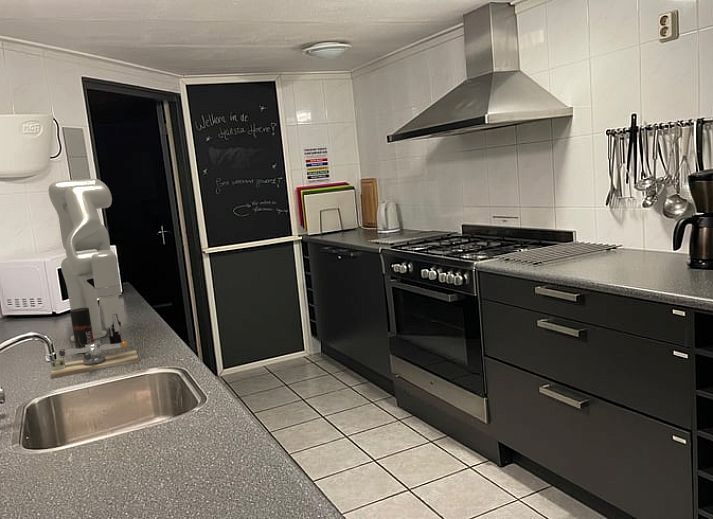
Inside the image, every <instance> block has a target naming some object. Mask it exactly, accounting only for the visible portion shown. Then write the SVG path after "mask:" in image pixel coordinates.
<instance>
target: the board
mask: <svg viewBox="0 0 713 519" xmlns="http://www.w3.org/2000/svg"><path fill="white" fill-rule="evenodd" d="M104 355H105V354H104ZM56 358H57V359H56V361H53V362H51V361H50V366H51V369H50V370H51V373H50V379H55V378H60V377H67V376H72V375H77V374H82V373H87V372H93V371H99V370H104V369H108V368H113V367H114V368H115V367H119V366H124V364H125V365H130V364H134V363H139V362H140V360H139V359H140V358H139V356H138V353H137V349H134V350H128V351H124V352H123V351H122V352H116V353H112V354H107V355H105V360H104V361H102V362H98V363H94V364H84V363H83V359H80V360H73V361H68V362H66V361H65V356H60V357H56Z"/></svg>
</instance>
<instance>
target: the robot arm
mask: <svg viewBox="0 0 713 519" xmlns="http://www.w3.org/2000/svg"><path fill="white" fill-rule="evenodd" d="M48 196H49V200H50V202H51V204H52V206H53V208H54V210H55V211H56V213H57V216H58V217H57V218H58V223H59V230H60V236H61V243H62V246H63V248H64V250H65V256H66V257H65V258H64V259H63V260H62V261H61V264H60V269H61V273H62V276H63V279H64V282H65V285H66V289H67V295H68V302H69V308H70V311H71V310H73V309H78V308H89V313H90V320H91V326H92V333H93V339H94V341H95V340H96V339H97V338H101V339H102V338H103V337H105V336H106V335H107V333H108V338H109V344H111V343H118V342H122V337H121V335H122V334H121V332H120V331H121V329H120V327H122V326H123V314H122V310H121V304H120V303H121V302H120V298H119V296H121V295H122V288H121V281H120V280H121V278H120V273H119V268H118V267H119V266H118V258H117V257H118V256H117V255H116V253H115V252H114V251H112V250H111V244H110V237H109V232H108V230H107V228H106V226H105V225H104V224H101V219H100V216H99V213H98V209H108V208H109V207H111V205H112V201H113V198H112V193H111V191H110V189H109V187H108V186H107V185H106V184H105V182H103V181H101V180H100V179H98V178H85V179H84V178H82V179H69V180H67V179H65V180H59V181H54V182H52V183H51V184H50V185H49V186H48ZM91 250H93V251H91ZM79 252H80V253H79ZM91 279H93V284H94V286H93V285H92V284H90V283H89V282H88V280H91ZM102 327H104V328H105V329H107V330H108V332H107V331H106V330H103V329H102ZM70 341H71V342H74V343H75V340H74V334H73V335H71V336H70Z"/></svg>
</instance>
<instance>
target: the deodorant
mask: <svg viewBox="0 0 713 519" xmlns="http://www.w3.org/2000/svg"><path fill="white" fill-rule="evenodd" d="M69 313H70V314H69V315H70V320H71V327H72V334H73V335H74V340H75V342H74V346H75V348H81V347H85V345H86V344H88V343H92V342H95V340H94V339H93V333H92V326H91V320H90V313H89V308H78V309H73V310H71V309H70V311H69ZM78 354H83V355H84V354H86V352H85V353H77V354H76V355H78Z"/></svg>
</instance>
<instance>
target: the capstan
mask: <svg viewBox="0 0 713 519" xmlns="http://www.w3.org/2000/svg"><path fill="white" fill-rule="evenodd" d="M127 342H128V341H125V340H121V342H118V343H111V344H110V343H105V344H103V339H102V337H101V338H97V339H95V340H94V342H92V343H88V344H86V345H85V347H81V348H76V347H75V348H69V349H64V348H61V349H59V351H58V355H59V356H60V357H65V356H69V355H75V354H76V355H78V354H77V353H85V352H86V354H83V359H82V360H83V363H84V364H94V363H98V362H102V361H104V360H105V354H103V352H102V351H104V350H106V351H107V350H113V349H119V348H120V349H121V348H122V349H124V348H126V347H127V346H128V343H127Z"/></svg>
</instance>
